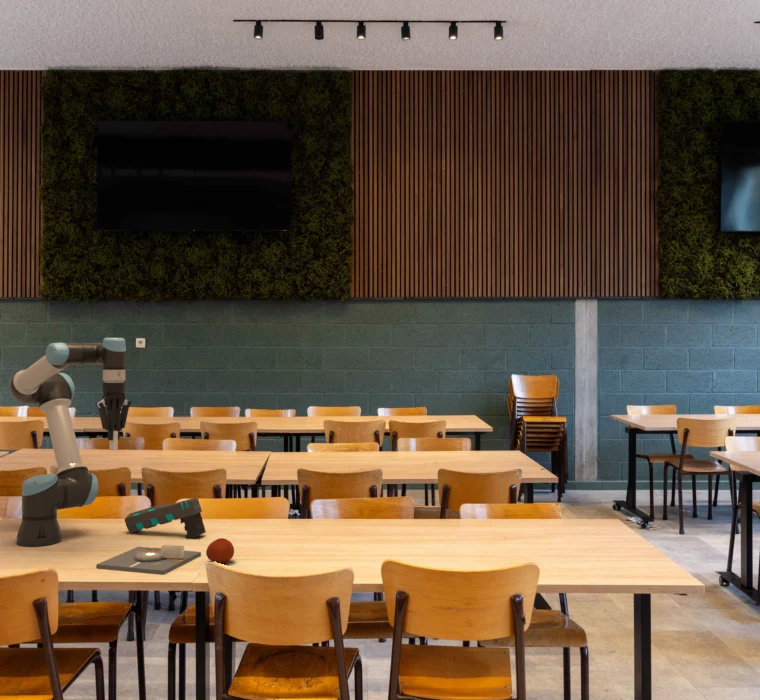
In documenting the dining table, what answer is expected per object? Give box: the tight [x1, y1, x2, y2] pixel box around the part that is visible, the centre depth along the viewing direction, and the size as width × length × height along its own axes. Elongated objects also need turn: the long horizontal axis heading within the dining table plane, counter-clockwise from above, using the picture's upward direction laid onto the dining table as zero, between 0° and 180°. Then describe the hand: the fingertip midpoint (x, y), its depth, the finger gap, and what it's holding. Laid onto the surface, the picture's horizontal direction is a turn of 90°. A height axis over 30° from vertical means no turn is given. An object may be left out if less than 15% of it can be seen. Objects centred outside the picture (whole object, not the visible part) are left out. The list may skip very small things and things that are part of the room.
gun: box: [124, 497, 207, 540], centre depth 305 cm, size 7×29×15 cm, turn 75°
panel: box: [96, 546, 202, 575], centre depth 267 cm, size 24×24×1 cm
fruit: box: [205, 537, 235, 564], centre depth 267 cm, size 9×9×8 cm
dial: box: [134, 544, 185, 562], centre depth 266 cm, size 16×10×4 cm, turn 83°
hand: (113, 449), depth 284 cm, fingers closed
